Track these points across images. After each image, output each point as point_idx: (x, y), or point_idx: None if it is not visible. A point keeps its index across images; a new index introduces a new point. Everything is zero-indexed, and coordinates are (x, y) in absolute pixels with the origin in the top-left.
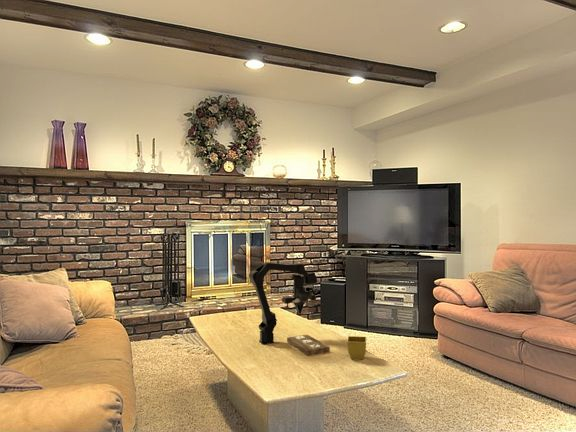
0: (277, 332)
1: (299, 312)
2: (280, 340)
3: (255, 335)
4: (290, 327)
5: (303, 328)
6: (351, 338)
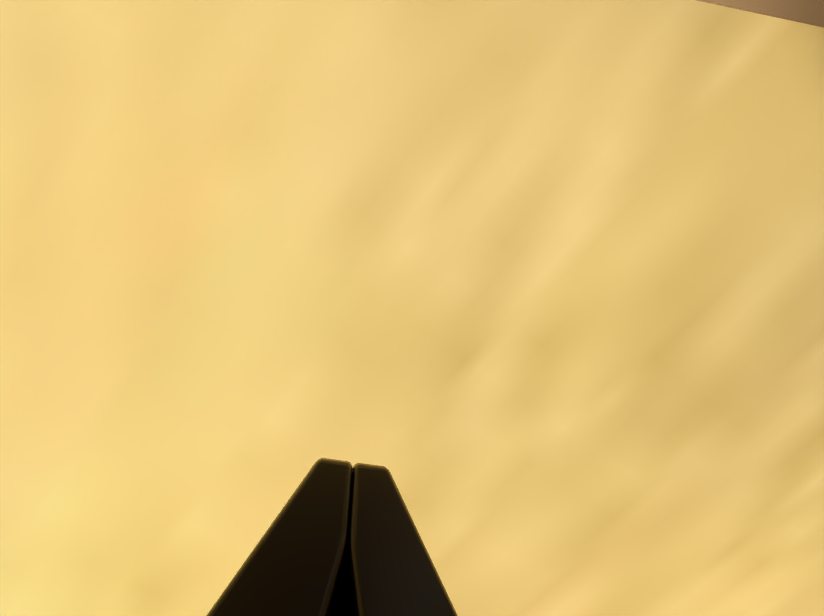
0: (501, 539)
1: (381, 513)
2: (794, 199)
3: (814, 585)
4: (208, 607)
5: (54, 492)
6: None
